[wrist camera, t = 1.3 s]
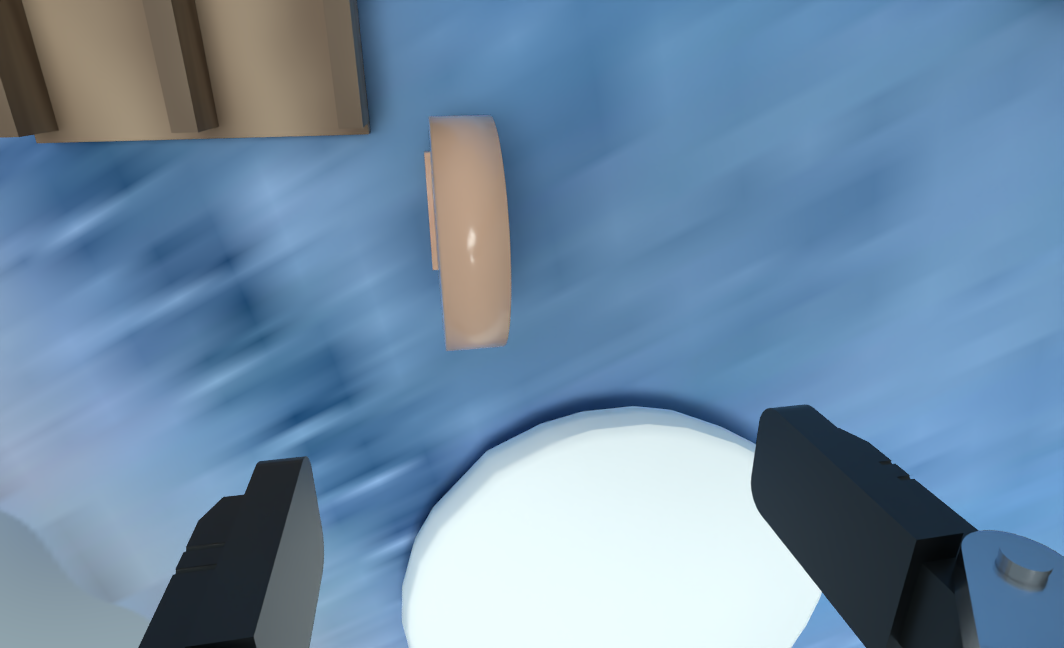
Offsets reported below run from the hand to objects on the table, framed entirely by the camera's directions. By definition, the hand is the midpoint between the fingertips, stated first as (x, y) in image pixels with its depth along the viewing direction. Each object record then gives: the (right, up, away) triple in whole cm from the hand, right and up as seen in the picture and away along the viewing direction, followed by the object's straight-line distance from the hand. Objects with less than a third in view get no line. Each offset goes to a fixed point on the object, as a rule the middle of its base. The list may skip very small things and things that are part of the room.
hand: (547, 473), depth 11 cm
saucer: (-4, +9, +21) cm, 23 cm away
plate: (+5, -14, +33) cm, 36 cm away
